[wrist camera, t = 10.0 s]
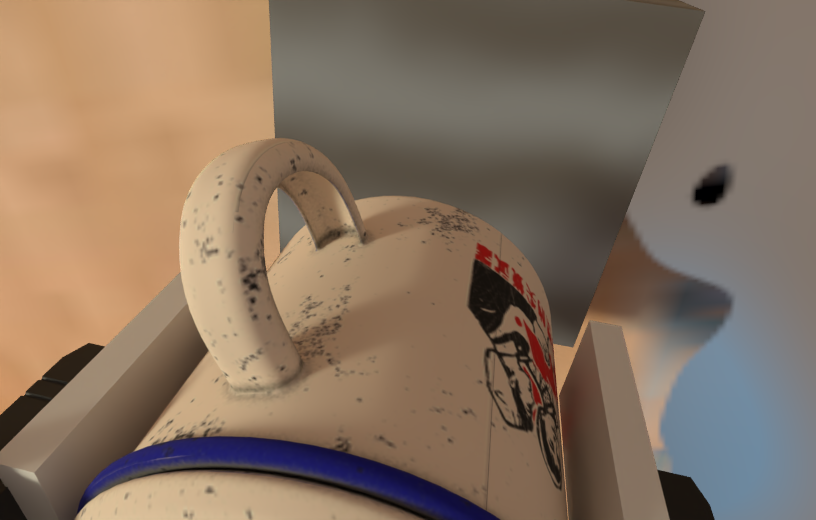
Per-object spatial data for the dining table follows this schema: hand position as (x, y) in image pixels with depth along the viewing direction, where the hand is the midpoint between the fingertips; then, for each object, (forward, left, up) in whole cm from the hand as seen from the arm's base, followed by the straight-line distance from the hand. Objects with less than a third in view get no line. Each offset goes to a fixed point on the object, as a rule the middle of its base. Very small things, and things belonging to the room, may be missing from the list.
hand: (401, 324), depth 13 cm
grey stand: (0, 0, -14) cm, 14 cm away
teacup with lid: (0, +1, -2) cm, 2 cm away
